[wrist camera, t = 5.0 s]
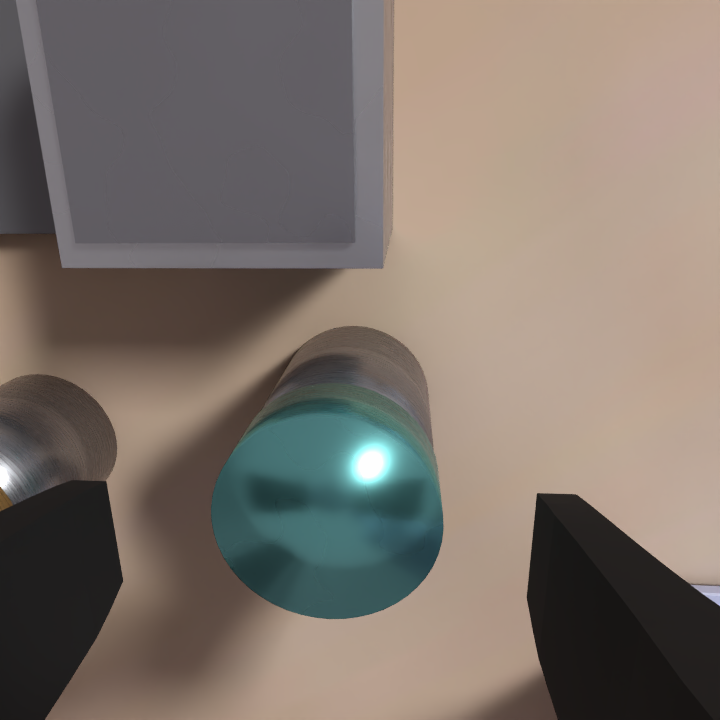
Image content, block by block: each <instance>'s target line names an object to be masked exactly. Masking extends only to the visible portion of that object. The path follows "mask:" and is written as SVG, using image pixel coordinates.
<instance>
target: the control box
mask: <svg viewBox="0 0 720 720" xmlns="http://www.w3.org/2000/svg"><path fill="white" fill-rule="evenodd" d="M16 5H17V10H18V16H19V22H20V28H21V34H22V39H23V45H24V51H25V57H26V63H27V68H28V74H29V80H30V86H31V91H32V97H33V103H34V109H35V115H36V120H37V126H38V132H39V138H40V144H41V149H42V155H43V161H44V167H45V173H46V178H47V184H48V190H49V196H50V201H51V207H52V213H53V219H54V225H55V230H56V236H57V242H58V248H59V254H60V259H61V265H62V268H383V267H384V263H385V258H386V254H387V250H388V246H389V241H390V237H391V233H392V201H393V53H394V0H16Z"/></svg>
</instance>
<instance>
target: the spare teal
mask: <svg viewBox="0 0 720 720" xmlns="http://www.w3.org/2000/svg"><path fill="white" fill-rule="evenodd" d="M211 518H212V526H213V531H214V535H215V538H216V541H217V544H218V547H219V549H220V551H221V553H222V555H223V557H224V559H225V560H226V562H227V563H228V565H229V566H230V568H231V569H232V570H233V572H234V573H235V574H236V575H237V576H238V578H239V579H240V580H241V581H242V582H243V583H245V584H246V585H247V586H248V587H249V588H250V589H251V590H253V591H254V592H255V593H257V594H258V595H259V596H261V597H262V598H264V599H266V600H267V601H269V602H271V603H273V604H274V605H277V606H279V607H281V608H283V609H286V610H288V611H291V612H294V613H298V614H301V615H305V616H310V617H315V618H325V619H346V618H354V617H360V616H365V615H369V614H372V613H375V612H378V611H381V610H384V609H386V608H388V607H390V606H392V605H394V604H396V603H397V602H399V601H400V600H402V599H403V598H405V597H406V596H408V595H409V594H410V593H411V592H412V591H414V590H415V589H416V588H417V587H418V586H419V585H420V584H421V582H422V581H423V580H424V579H425V578H426V576H427V575H428V573H429V572H430V570H431V569H432V567H433V565H434V563H435V561H436V558H437V556H438V554H439V550H440V547H441V543H442V536H443V512H442V502H441V493H440V483H439V474H438V466H437V461H436V456H435V454H434V449H433V439H432V428H431V418H430V408H429V398H428V388H427V383H426V379H425V376H424V373H423V370H422V368H421V366H420V364H419V362H418V361H417V359H416V358H415V356H414V355H413V354H412V353H411V352H410V351H409V349H408V348H407V347H405V346H404V345H403V344H402V343H401V342H400V341H398V340H396V339H395V338H393V337H392V336H390V335H388V334H386V333H384V332H381V331H378V330H375V329H372V328H367V327H359V326H347V327H339V328H334V329H331V330H328V331H325V332H323V333H321V334H318V335H316V336H315V337H313V338H312V339H310V340H309V341H308V342H306V343H305V344H304V345H303V346H302V347H301V348H300V349H299V350H298V351H297V352H296V354H295V355H294V357H293V358H292V360H291V361H290V363H289V365H288V366H287V368H286V370H285V371H284V373H283V375H282V376H281V378H280V380H279V381H278V383H277V385H276V386H275V388H274V389H273V391H272V393H271V394H270V396H269V398H268V399H267V401H266V403H265V404H264V406H263V408H262V409H261V411H260V412H259V413H258V414H257V416H256V417H255V418H254V419H253V420H252V422H251V423H250V425H249V426H248V428H247V429H246V431H245V433H244V434H243V436H242V438H241V439H240V441H239V442H238V444H237V446H236V447H235V449H234V451H233V452H232V454H231V455H230V457H229V459H228V460H227V462H226V464H225V465H224V467H223V468H222V470H221V472H220V475H219V477H218V479H217V481H216V484H215V488H214V492H213V496H212V505H211Z"/></svg>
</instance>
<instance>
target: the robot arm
mask: <svg viewBox="0 0 720 720" xmlns="http://www.w3.org/2000/svg"><path fill="white" fill-rule="evenodd" d="M122 583H123V577H122V571H121V565H120V559H119V553H118V548H117V542H116V536H115V530H114V524H113V518H112V512H111V507H110V501H109V495H108V489H107V483H106V481H86V480H71V481H68V482H65V483H62V484H60V485H57V486H55V487H52V488H50V489H47V490H45V491H43V492H40V493H38V494H36V495H34V496H32V497H29V498H27V499H25V500H23V501H21V502H19V503H17V504H14V505H12V506H10V507H8V508H6V509H4V510H2V511H0V720H45V718H46V717H47V715H48V714H49V712H50V711H51V709H52V708H53V706H54V704H55V703H56V701H57V700H58V698H59V697H60V695H61V694H62V692H63V690H64V689H65V687H66V686H67V684H68V683H69V681H70V680H71V678H72V676H73V675H74V673H75V672H76V670H77V668H78V667H79V665H80V664H81V662H82V660H83V659H84V657H85V656H86V654H87V653H88V651H89V649H90V648H91V646H92V644H93V643H94V641H95V639H96V638H97V636H98V634H99V632H100V630H101V628H102V626H103V624H104V622H105V620H106V618H107V616H108V614H109V612H110V609H111V607H112V605H113V603H114V600H115V598H116V596H117V594H118V591H119V589H120V587H121V585H122ZM527 601H528V607H529V612H530V618H531V623H532V628H533V633H534V638H535V643H536V648H537V653H538V658H539V661H540V665H541V668H542V671H543V674H544V677H545V681H546V684H547V687H548V690H549V693H550V696H551V699H552V703H553V706H554V709H555V712H556V715H557V718H558V720H720V586H704V585H690V584H689V583H687V582H686V581H685V580H683V579H682V578H681V577H679V576H678V575H677V574H675V573H674V572H673V571H672V570H670V569H669V568H668V567H666V566H665V565H664V564H662V563H661V562H660V561H659V560H657V559H656V558H655V557H654V556H652V555H651V554H650V553H649V552H647V551H646V550H645V549H644V548H642V547H641V546H640V545H639V544H637V543H636V542H635V541H634V540H632V539H631V538H630V537H629V536H627V535H626V534H625V533H624V532H623V531H621V530H620V529H619V528H618V527H616V526H615V525H614V524H613V523H612V522H610V521H609V520H608V519H607V518H606V517H604V516H603V515H602V514H601V513H599V512H598V511H597V510H596V509H594V508H593V507H592V506H591V505H589V504H588V503H587V502H586V501H584V500H583V499H582V498H580V497H579V496H577V495H576V494H543V493H537V499H536V510H535V520H534V530H533V540H532V550H531V560H530V570H529V581H528V591H527Z"/></svg>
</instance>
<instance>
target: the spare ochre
mask: <svg viewBox="0 0 720 720" xmlns="http://www.w3.org/2000/svg"><path fill="white" fill-rule="evenodd" d="M116 456H117V443H116V437H115V432H114V429H113V427H112V424H111V422H110V420H109V418H108V416H107V415H106V413H105V412H104V410H103V409H102V407H101V406H100V405H99V404H98V403H97V401H96V400H95V399H93V398H92V397H91V396H90V395H89V394H88V393H87V392H85V391H84V390H83V389H81V388H80V387H78V386H76V385H75V384H73V383H71V382H68V381H66V380H64V379H61V378H58V377H54V376H49V375H39V374H36V375H26V376H21V377H18V378H15V379H12V380H11V381H9V382H7V383H5V384H3V385H1V386H0V511H2V510H4V509H6V508H8V507H10V506H12V505H14V504H17V503H19V502H21V501H23V500H25V499H27V498H29V497H32V496H34V495H36V494H38V493H40V492H43V491H45V490H47V489H50V488H52V487H55V486H57V485H60V484H62V483H65V482H68V481H71V480H86V481H106V479H107V478H108V477H109V475H110V474H111V472H112V470H113V467H114V465H115V461H116Z"/></svg>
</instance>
